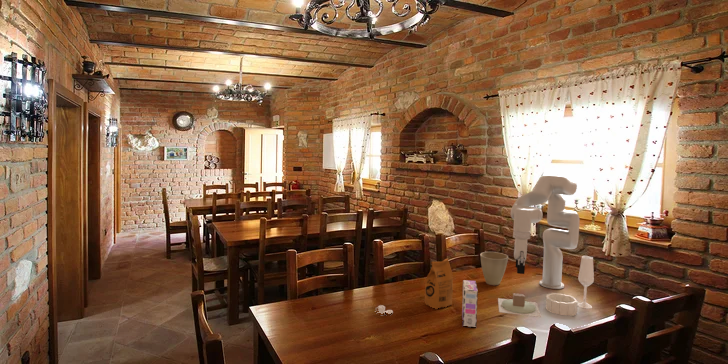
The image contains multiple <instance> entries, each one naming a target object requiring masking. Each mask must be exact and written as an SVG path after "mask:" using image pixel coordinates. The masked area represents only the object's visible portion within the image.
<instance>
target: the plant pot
mask: <svg viewBox="0 0 728 364" xmlns="http://www.w3.org/2000/svg"><path fill="white" fill-rule="evenodd" d="M479 256H480V265H481V270H482V274H483V277H484V281H485V284H487V285H489V286H499V285H500V284H501V282H502V280H503V277H504V274H505V272H506V269H507V265H508V261H509V255H507V254H505V253H501V252H496V251H484V252H481V253H480V254H479Z"/></svg>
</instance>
